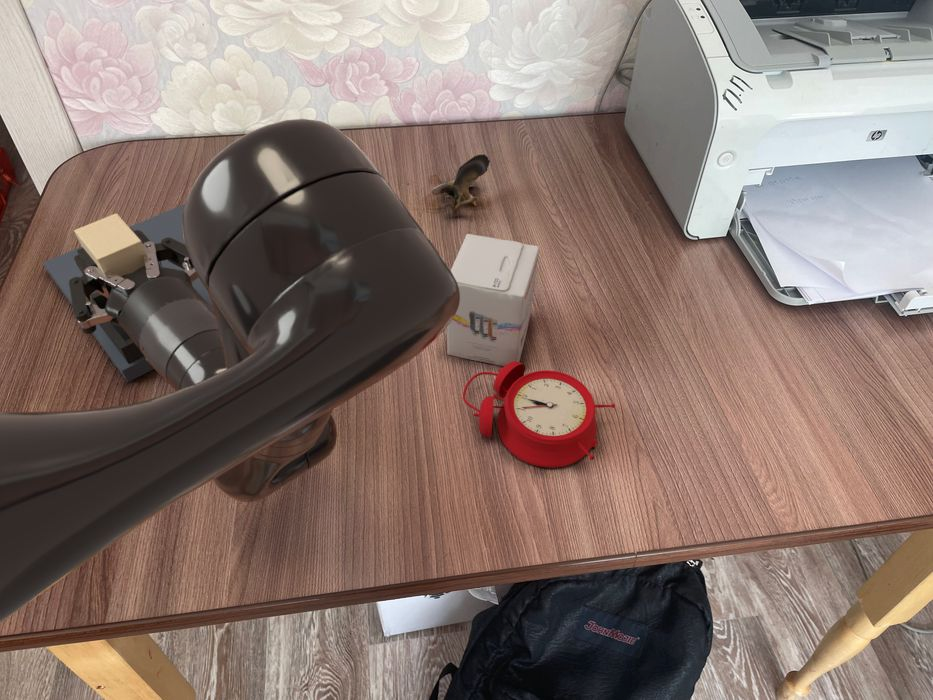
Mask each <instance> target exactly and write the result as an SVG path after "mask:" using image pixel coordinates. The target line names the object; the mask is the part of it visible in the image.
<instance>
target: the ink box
mask: <svg viewBox="0 0 933 700" xmlns="http://www.w3.org/2000/svg"><path fill="white" fill-rule="evenodd" d="M539 251H540V246H539V245H533V244H526V243H522V242H520V241H515V240H510V239H509V240H508V239H500V238H496V237H490V236H484V235H479V234H472V233H467V234H466V235H465V237H464V239H463V242H462V244H461V245H460V249H459V251H458V253H457V255H456V258H455V260H454V263H453V264H452V267H451V268H450V270H451V272H452V273H453V275H454V277H455V279H456V281H457V283H458V285H459V291H460V303H459V307H458V309H457V312H456V314H455V316H454V317H453V319H452V321H451V322H450V323H449V325H448V326H447V327H446V328H447V329H446V330H447V335H446V336H447V341H446V342H447V343H446V345H447V347H446V350H447V355H448V356H452V357H457V358H460V359H464V360H465V359H466V360H471V361H476V362H479V363H480V362H481V363H486V364H490V365H495V366H501V367H504V366H505V365H506V364H508V363H510V362H513V361H518V362H520V360H521V356H522V353H523V349H524V345H525V341H526V338H527V333H528V330H529V327H530V322H531V317H532V309H533V302H534V301H533V300H534V293H535V283H536V276H537V269H538V268H537V267H538V260H539Z"/></svg>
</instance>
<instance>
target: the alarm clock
mask: <svg viewBox="0 0 933 700" xmlns="http://www.w3.org/2000/svg"><path fill="white" fill-rule="evenodd" d="M497 372H498V373H496V372H491V371H482V372H478V373H476V374H475V375H473V376H472V377H471V378H470V379H469V380H468V381H467V383H466V384H465V386H464V389H463V392H462V401H463V402H464V403H465V404H466V405H467V407H468V408H471V409H473V410H474V411H476V412H477V413H473V415H472V416H473V417H476V418H477V417H478V428H479V431H480V434H481V435H482V436H483V437H485V438H491V439H492V433H493V432H492V431H493V420H494V419H493V418H494V409H499V410H498V413H497V421H496V424H497V425H496V426H497V432H498V435H499V438H500V440H501V442H502V444H503V445H504V447H505V448H506V449H507V450H508V451H509V452H510V453H511V455H513V456H515V457H516V458H517V459H519V460H521V461H523V462H525V463H527V464H530V465H531V466H532V465H533V466H536V467H542V468H560V467H565V466H569V465H572V464H574V463H576V462H578V461H580V460H582V458H584V457H585V456H586V455H587V456H588V457H589V460H591V461H593V460H594V459H595V456H594V454H591V453H590V450H591V449H592V448H597V445H598V442H599V440H597V439H596V437H597V426H598V425H597V420H596V409H597V408H598V409H599V408H600V409H601V408H612V409H614V408H616V404H615V403H611V404H595V400H594V398H593V396H592V394H591V392H590V390H589V389H588V387H586V385H585V384H584V383H582V382H581V381H580V380H579V379H577V378H575V376H572V375H569V374H568V373H564V372H561V371H558V370H557V371H556V370H551V369H550V370H548V369H547V370H546V369H545V370H544V369H543V370H542V369H541V370H536V371H532V372H529V373H526V374H525V372H526V366H525V364H523V363H522V362H520V361H519V362H518V361H513V362H510V363H508V364H506V365H505V366H502V367H501V368H499V369H498V370H497ZM484 375H489V376H495V379H494V382H493V388H494V392H495V393H493V395H488V396H485V397H484V398H483V399H482V401H481V403H480V407H479V408H477V407H476V406H474V405H472V404H470V403H469V402H468V400H467V399H466V392H467V390H468V387H469V386H470V384H471V383H472V382H473V381H474V379H476V378H477V377H479V376H484ZM497 395H498V396H497ZM495 399H498V400H501V401H503V402H502V404H501V405H495V404H494V403H495Z"/></svg>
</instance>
